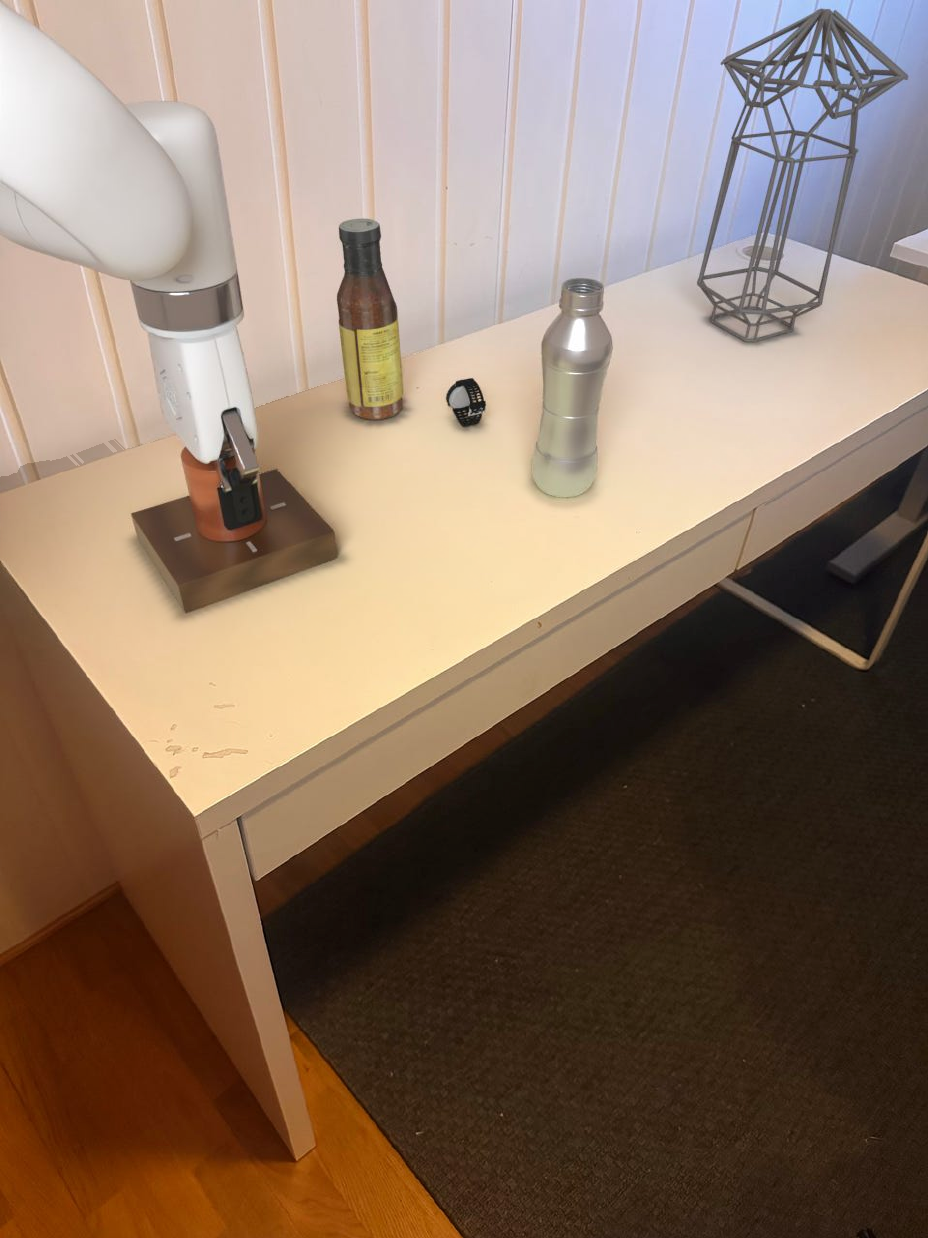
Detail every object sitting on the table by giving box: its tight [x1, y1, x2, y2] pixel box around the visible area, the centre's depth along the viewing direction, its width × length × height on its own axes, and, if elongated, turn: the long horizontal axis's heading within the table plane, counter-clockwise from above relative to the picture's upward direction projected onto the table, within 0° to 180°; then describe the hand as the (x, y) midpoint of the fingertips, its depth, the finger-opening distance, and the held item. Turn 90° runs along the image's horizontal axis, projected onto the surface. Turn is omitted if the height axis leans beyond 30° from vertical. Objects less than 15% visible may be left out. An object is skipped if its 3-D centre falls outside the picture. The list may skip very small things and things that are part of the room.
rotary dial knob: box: [180, 442, 266, 542], centre depth 76 cm, size 6×6×7 cm
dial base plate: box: [130, 468, 338, 614], centre depth 79 cm, size 14×12×3 cm
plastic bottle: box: [530, 277, 614, 498], centre depth 82 cm, size 6×7×20 cm
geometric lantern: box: [696, 7, 909, 343], centre depth 107 cm, size 16×16×35 cm
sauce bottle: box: [336, 218, 404, 421], centre depth 93 cm, size 7×6×20 cm
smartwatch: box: [445, 377, 487, 428], centre depth 96 cm, size 4×5×5 cm
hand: (227, 502), depth 77 cm, fingers closed on rotary dial knob, 6 cm apart
